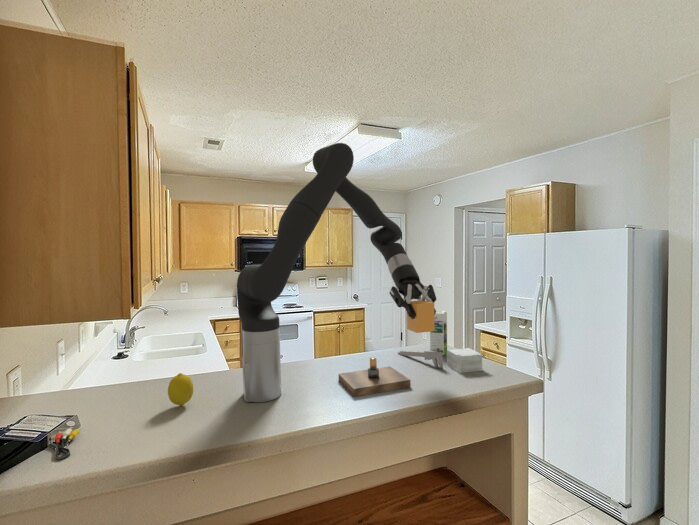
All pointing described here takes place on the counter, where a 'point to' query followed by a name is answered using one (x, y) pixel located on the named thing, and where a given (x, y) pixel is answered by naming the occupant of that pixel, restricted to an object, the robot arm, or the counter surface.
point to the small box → (464, 360)
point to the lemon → (180, 389)
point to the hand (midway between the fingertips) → (423, 316)
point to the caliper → (427, 356)
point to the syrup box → (439, 332)
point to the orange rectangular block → (422, 317)
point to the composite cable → (63, 442)
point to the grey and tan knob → (373, 369)
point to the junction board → (373, 381)
